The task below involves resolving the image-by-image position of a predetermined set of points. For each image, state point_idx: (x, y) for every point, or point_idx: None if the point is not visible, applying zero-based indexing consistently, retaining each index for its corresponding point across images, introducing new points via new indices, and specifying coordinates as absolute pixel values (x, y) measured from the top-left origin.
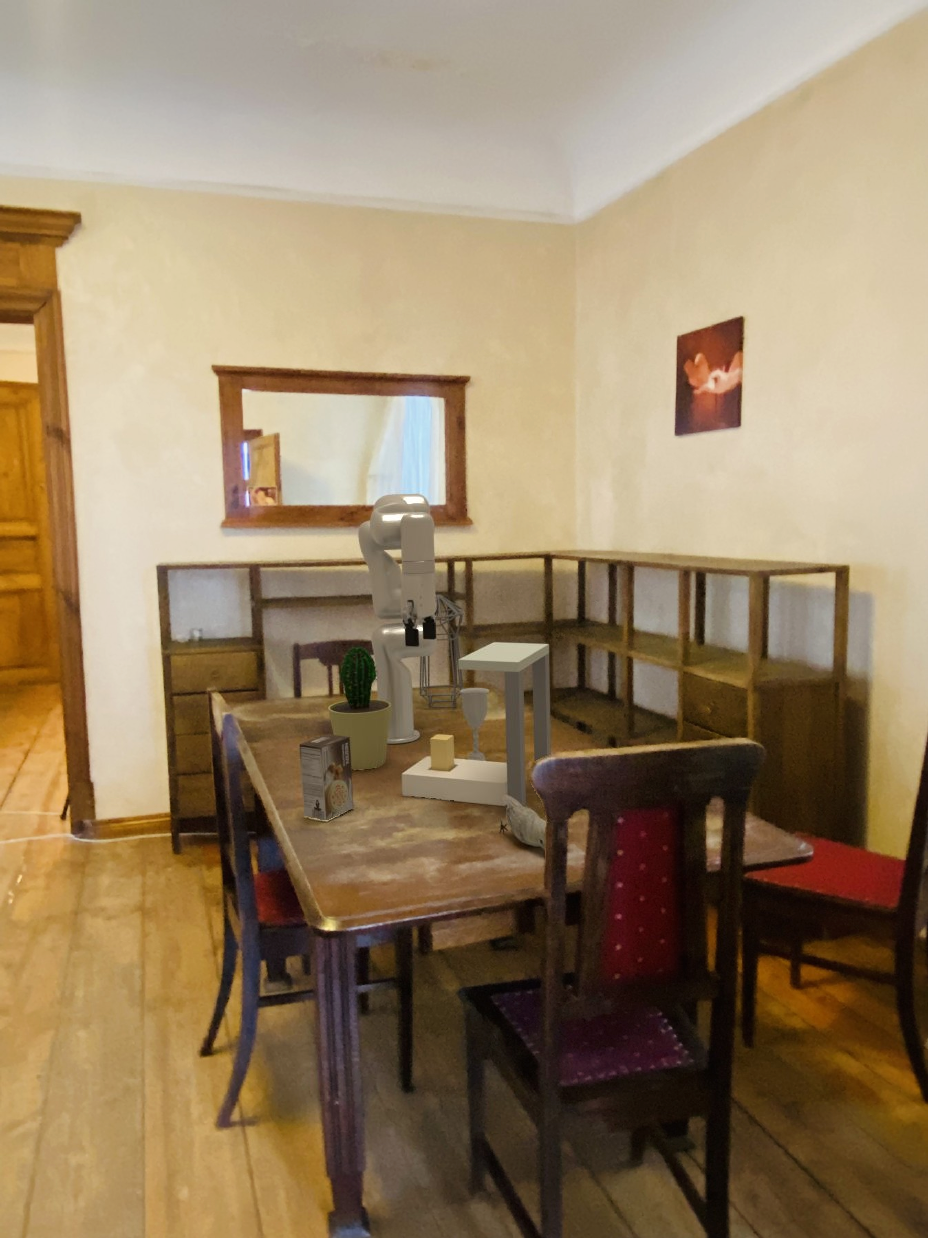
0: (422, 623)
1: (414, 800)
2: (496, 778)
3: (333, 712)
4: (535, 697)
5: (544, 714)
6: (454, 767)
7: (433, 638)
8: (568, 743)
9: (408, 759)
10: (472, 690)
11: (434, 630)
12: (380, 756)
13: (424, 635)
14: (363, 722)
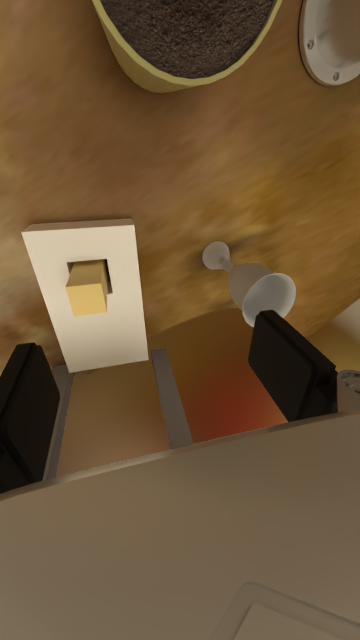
0: (316, 363)
1: (24, 252)
2: (81, 358)
3: None
4: (170, 442)
5: (166, 428)
6: (107, 288)
7: (250, 359)
8: (302, 321)
9: (207, 133)
10: (289, 286)
11: (270, 392)
12: (151, 89)
13: (263, 329)
14: (104, 26)
